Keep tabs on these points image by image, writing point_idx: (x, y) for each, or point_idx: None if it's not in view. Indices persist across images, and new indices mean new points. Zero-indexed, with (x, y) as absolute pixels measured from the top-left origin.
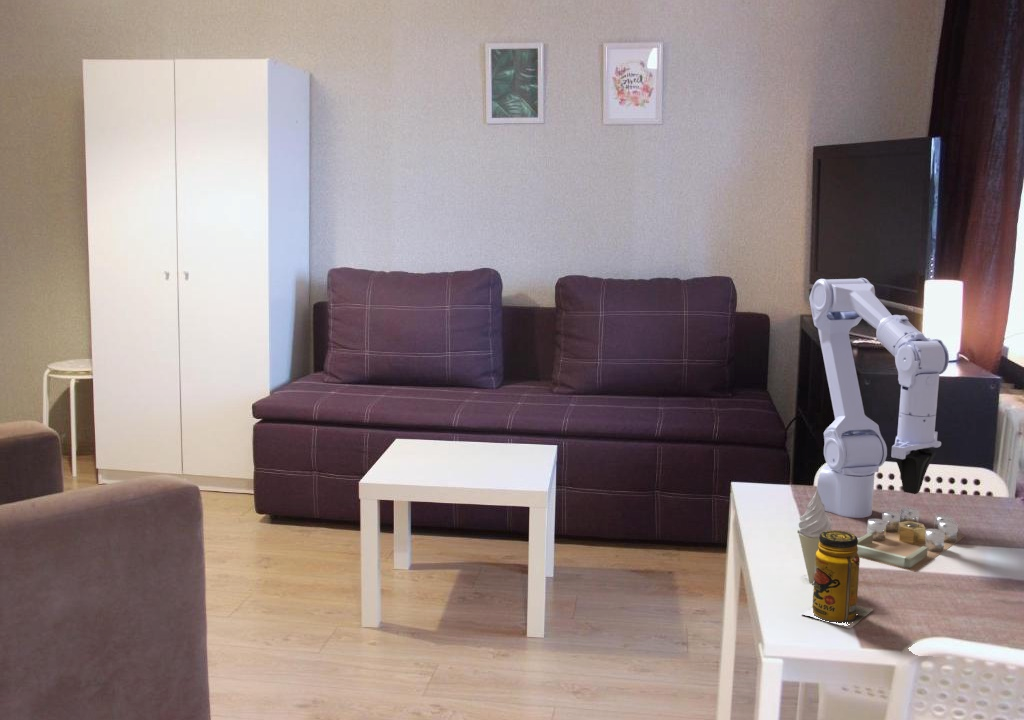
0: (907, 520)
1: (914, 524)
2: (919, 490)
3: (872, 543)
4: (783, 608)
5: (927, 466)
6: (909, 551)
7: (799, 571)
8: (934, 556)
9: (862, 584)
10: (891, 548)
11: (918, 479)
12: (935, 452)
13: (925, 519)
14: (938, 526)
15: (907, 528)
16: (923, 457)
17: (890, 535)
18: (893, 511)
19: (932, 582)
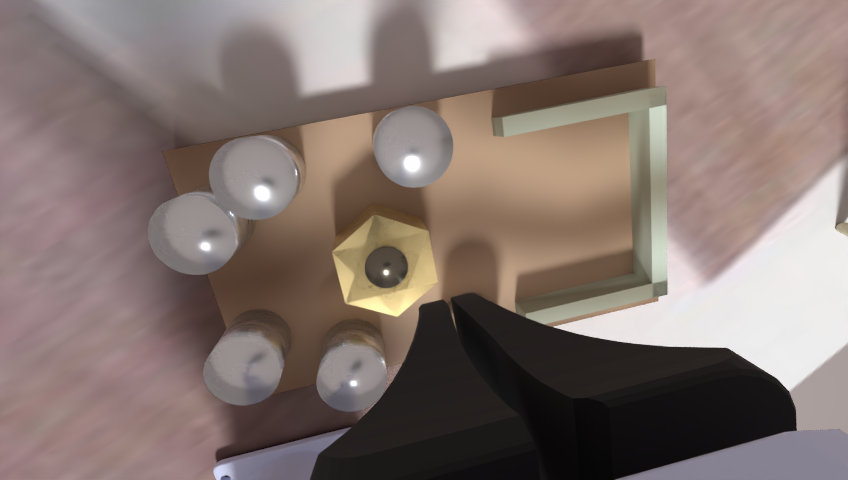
0: (283, 340)
1: (371, 266)
2: (426, 305)
3: (519, 295)
4: None
5: (418, 382)
6: (495, 182)
7: (785, 292)
8: (474, 98)
9: (771, 138)
10: (515, 234)
11: (527, 318)
12: (372, 477)
13: (80, 376)
14: (246, 229)
15: (432, 256)
16: (755, 401)
17: (405, 310)
18: (327, 390)
19: (625, 6)
